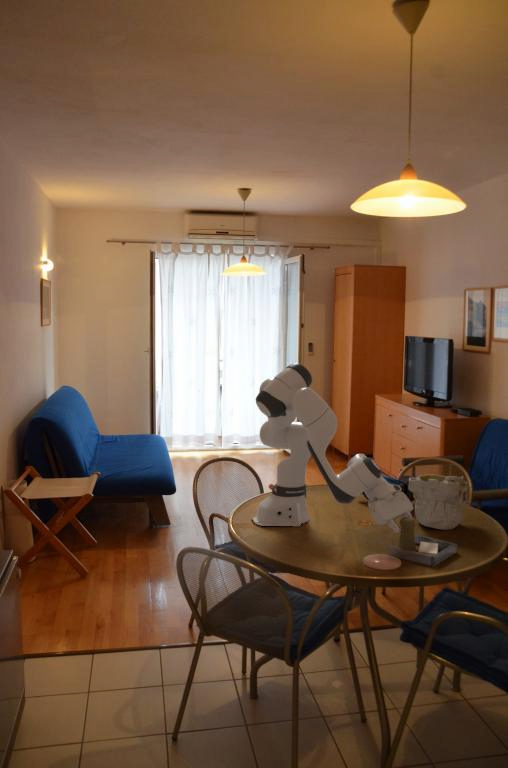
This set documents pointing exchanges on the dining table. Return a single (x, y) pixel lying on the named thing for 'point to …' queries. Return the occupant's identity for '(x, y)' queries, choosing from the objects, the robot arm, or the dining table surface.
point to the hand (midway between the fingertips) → (406, 528)
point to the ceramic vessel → (439, 500)
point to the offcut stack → (428, 548)
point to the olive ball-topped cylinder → (407, 534)
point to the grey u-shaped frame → (446, 552)
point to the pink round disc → (382, 562)
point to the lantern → (397, 482)
